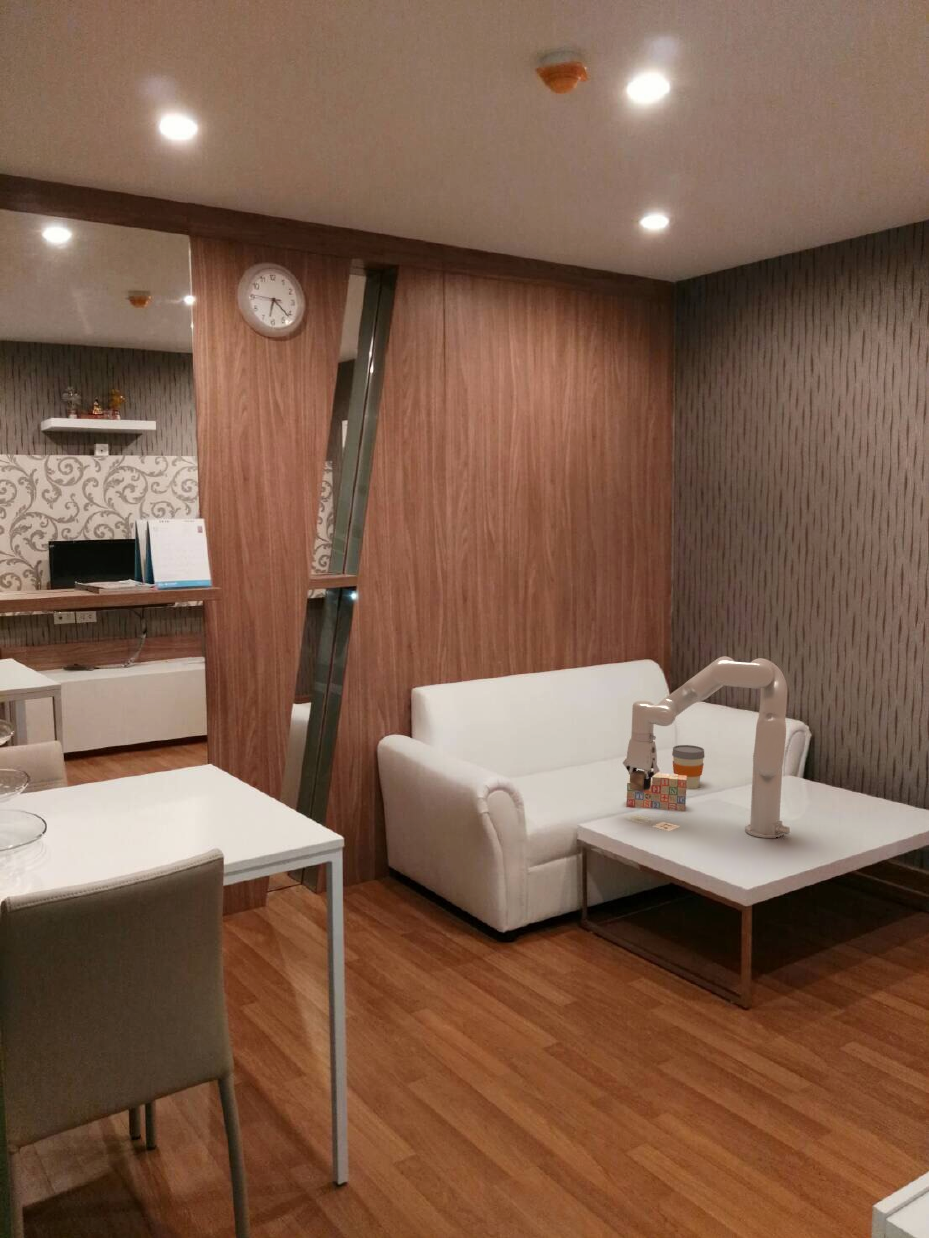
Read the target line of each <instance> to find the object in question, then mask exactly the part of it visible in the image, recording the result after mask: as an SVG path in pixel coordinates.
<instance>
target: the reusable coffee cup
mask: <svg viewBox="0 0 929 1238" xmlns="http://www.w3.org/2000/svg"><path fill="white" fill-rule="evenodd" d="M671 753H672V754H671V755H672V769H673V774H678V775H685V776H687V787H686V790H689V789H690V790H693V789H698V788H699V787H700V781H701V776H702V775H703V771H704V759H705V749H704V748H703V747H700V746H697V745H691V744H686V745H685V744H680V745H675V746H673V747H672V751H671Z"/></svg>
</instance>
